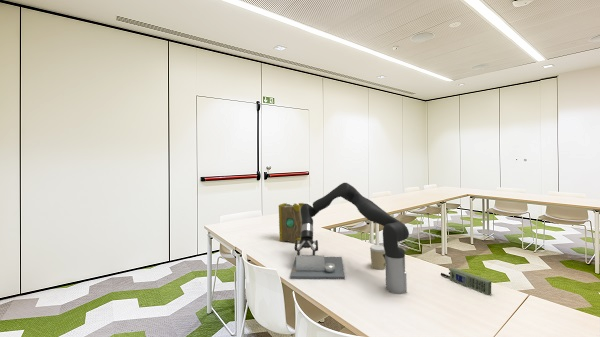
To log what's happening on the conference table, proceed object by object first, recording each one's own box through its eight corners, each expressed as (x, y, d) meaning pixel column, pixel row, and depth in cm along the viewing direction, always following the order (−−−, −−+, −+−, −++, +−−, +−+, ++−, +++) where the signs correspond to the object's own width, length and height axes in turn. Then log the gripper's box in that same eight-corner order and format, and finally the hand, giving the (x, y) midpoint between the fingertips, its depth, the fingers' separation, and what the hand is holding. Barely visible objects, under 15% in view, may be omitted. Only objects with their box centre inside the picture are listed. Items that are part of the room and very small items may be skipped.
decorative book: (278, 241, 224) (277, 204, 223) (285, 237, 234) (284, 201, 233) (300, 244, 215) (299, 205, 214) (307, 240, 225) (306, 203, 224)
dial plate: (341, 259, 183) (341, 256, 183) (345, 279, 153) (344, 276, 153) (295, 259, 185) (295, 256, 185) (290, 278, 156) (290, 276, 155)
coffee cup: (387, 270, 163) (387, 250, 162) (370, 269, 164) (370, 249, 164) (385, 264, 172) (385, 245, 171) (370, 263, 174) (369, 244, 173)
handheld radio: (488, 296, 131) (439, 276, 153) (492, 294, 133) (442, 275, 155) (488, 282, 131) (439, 264, 153) (492, 280, 133) (443, 263, 155)
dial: (335, 268, 163) (334, 254, 163) (335, 272, 157) (334, 257, 157) (297, 267, 165) (296, 253, 165) (296, 272, 159) (295, 257, 159)
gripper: (318, 235, 180) (318, 259, 169) (296, 235, 181) (294, 259, 171) (318, 229, 174) (317, 254, 163) (295, 229, 176) (293, 253, 165)
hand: (305, 256), depth 167 cm, fingers open, 8 cm apart
